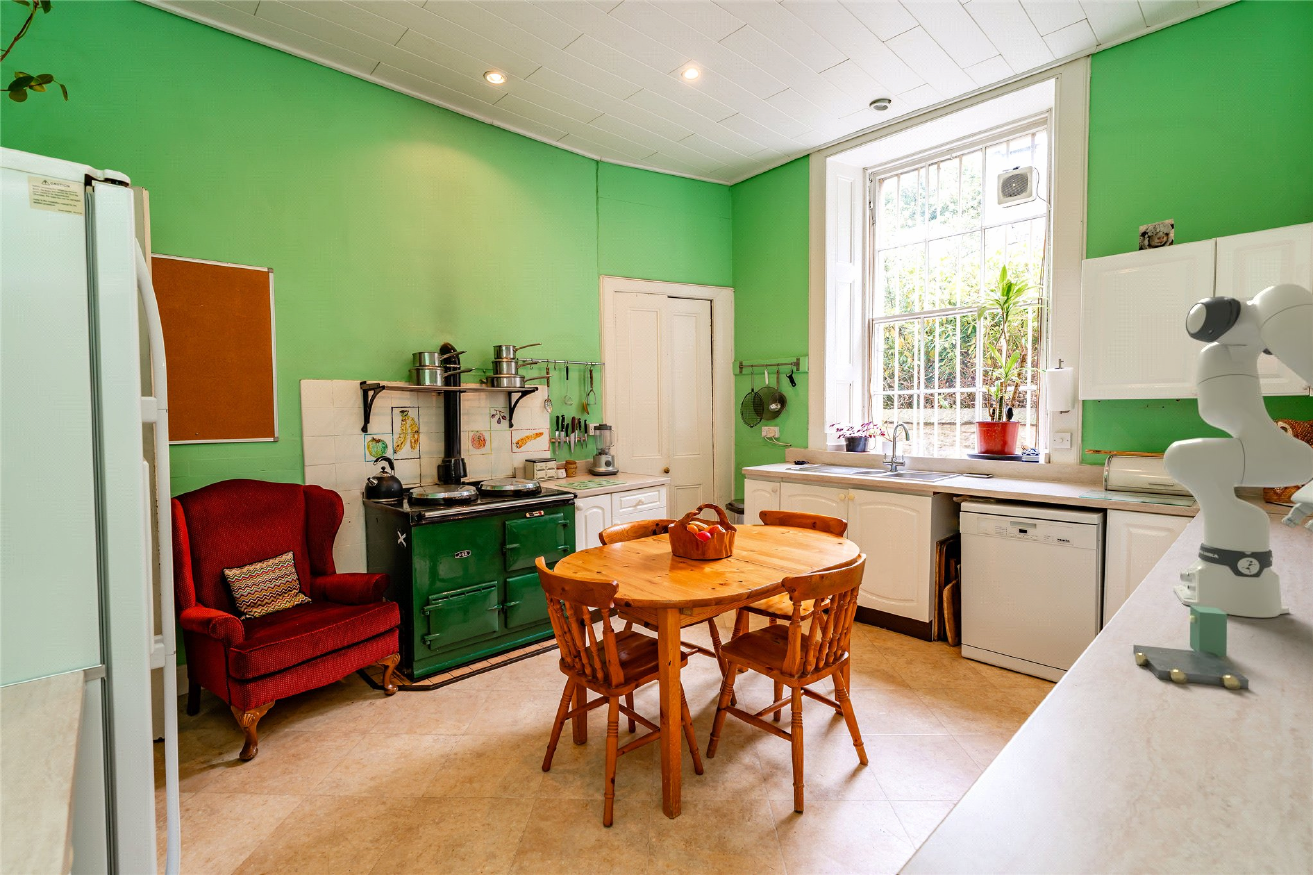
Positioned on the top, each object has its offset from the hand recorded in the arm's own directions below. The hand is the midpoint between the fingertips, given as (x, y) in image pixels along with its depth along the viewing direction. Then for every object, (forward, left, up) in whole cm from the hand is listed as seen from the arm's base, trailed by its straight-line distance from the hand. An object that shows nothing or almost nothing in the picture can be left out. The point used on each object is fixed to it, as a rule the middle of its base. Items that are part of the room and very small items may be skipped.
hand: (1297, 527), depth 109 cm
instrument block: (-2, -12, -25) cm, 27 cm away
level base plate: (+9, -19, -24) cm, 32 cm away
